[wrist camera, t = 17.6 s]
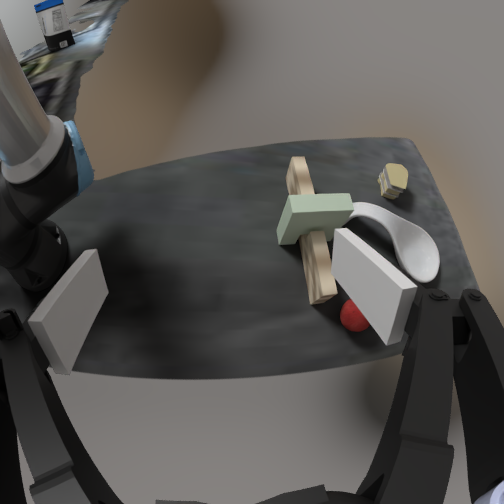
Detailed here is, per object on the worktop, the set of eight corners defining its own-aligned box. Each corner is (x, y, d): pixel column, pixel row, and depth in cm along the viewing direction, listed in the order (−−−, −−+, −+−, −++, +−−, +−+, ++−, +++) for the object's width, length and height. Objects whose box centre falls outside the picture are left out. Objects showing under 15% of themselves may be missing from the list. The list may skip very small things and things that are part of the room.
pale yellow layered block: (404, 210, 57) (417, 198, 52) (371, 201, 57) (382, 187, 52) (400, 176, 61) (410, 163, 56) (369, 166, 61) (378, 152, 56)
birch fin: (323, 302, 48) (337, 293, 41) (310, 304, 48) (323, 295, 41) (296, 178, 57) (304, 156, 51) (285, 178, 57) (292, 156, 50)
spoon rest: (435, 251, 54) (454, 238, 47) (424, 296, 50) (445, 287, 43) (350, 197, 57) (363, 178, 50) (331, 240, 53) (344, 223, 46)
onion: (341, 296, 49) (359, 284, 41) (367, 309, 48) (388, 300, 40) (328, 325, 46) (346, 318, 39) (355, 338, 46) (377, 334, 38)
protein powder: (68, 49, 79) (53, -1, 52) (41, 52, 81) (26, 10, 53) (81, 39, 83) (69, -10, 55) (54, 43, 84) (41, 1, 57)
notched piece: (279, 245, 51) (292, 212, 40) (276, 230, 52) (288, 195, 41) (330, 241, 52) (354, 209, 41) (326, 226, 53) (349, 193, 42)
